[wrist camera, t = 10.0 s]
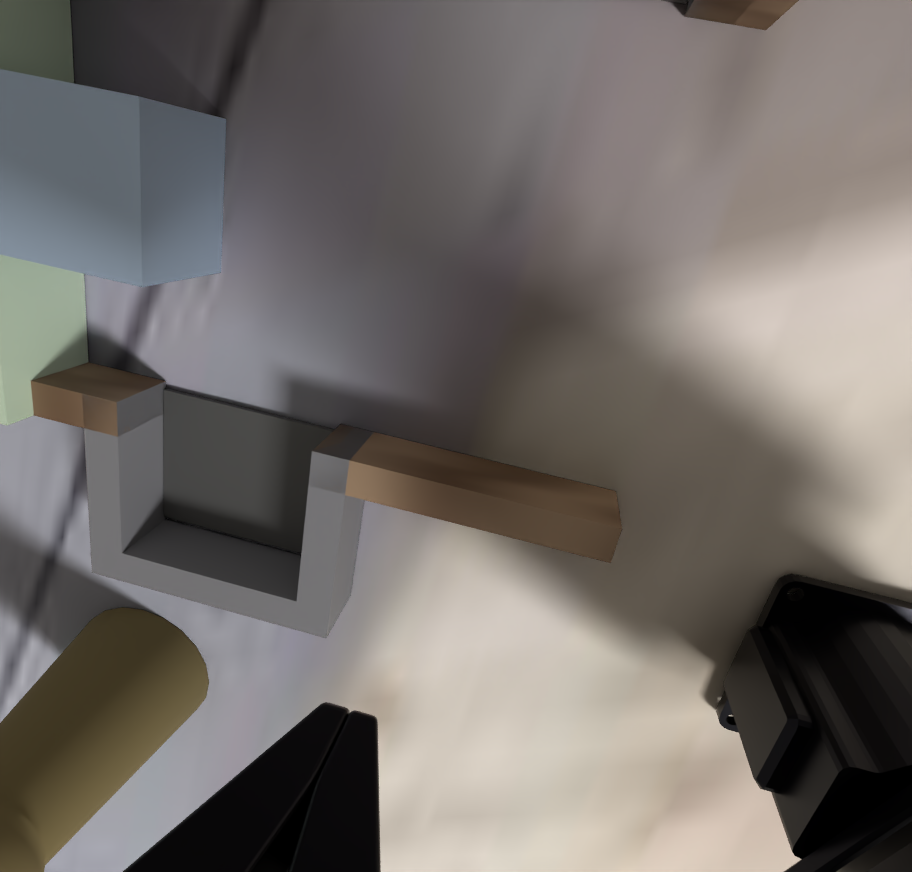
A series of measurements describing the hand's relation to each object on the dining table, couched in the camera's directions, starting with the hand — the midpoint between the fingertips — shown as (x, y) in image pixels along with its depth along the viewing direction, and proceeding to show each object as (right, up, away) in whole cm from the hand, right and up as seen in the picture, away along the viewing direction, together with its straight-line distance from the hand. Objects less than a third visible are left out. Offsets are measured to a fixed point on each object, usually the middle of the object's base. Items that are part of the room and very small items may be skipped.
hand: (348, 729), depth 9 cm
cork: (-12, -6, +18) cm, 22 cm away
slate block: (-8, +12, +10) cm, 18 cm away
